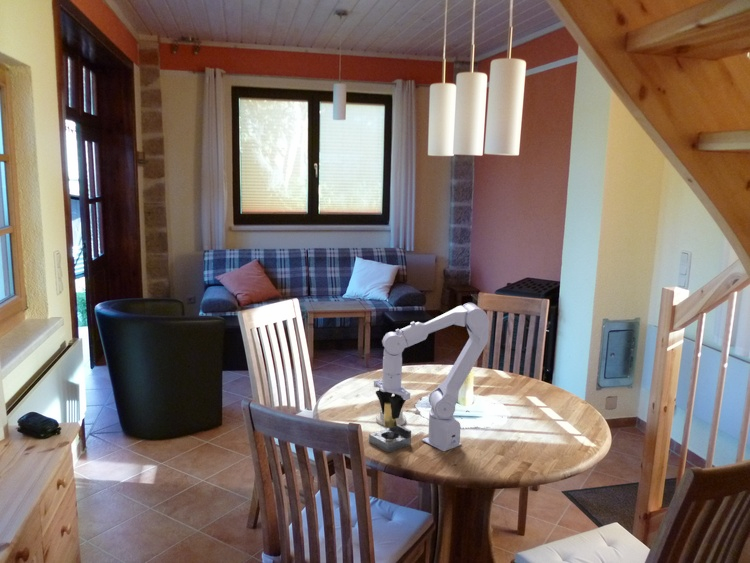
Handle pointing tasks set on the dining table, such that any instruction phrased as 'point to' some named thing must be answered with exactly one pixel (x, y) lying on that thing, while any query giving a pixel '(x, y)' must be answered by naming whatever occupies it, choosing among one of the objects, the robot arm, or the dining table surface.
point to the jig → (391, 438)
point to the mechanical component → (400, 420)
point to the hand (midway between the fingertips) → (390, 415)
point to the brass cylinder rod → (389, 416)
